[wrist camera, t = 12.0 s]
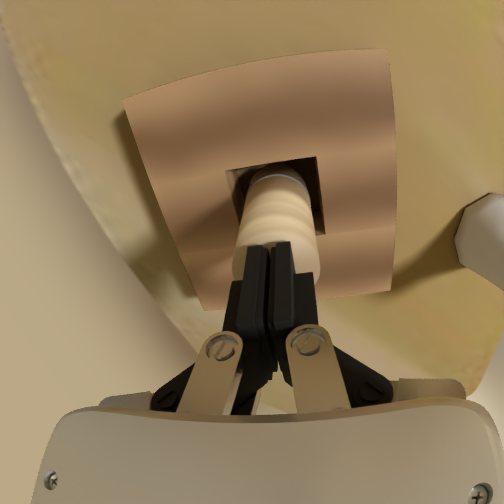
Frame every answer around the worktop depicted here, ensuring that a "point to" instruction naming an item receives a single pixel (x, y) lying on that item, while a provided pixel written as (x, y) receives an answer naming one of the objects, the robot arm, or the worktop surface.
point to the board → (274, 150)
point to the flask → (483, 238)
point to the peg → (278, 218)
